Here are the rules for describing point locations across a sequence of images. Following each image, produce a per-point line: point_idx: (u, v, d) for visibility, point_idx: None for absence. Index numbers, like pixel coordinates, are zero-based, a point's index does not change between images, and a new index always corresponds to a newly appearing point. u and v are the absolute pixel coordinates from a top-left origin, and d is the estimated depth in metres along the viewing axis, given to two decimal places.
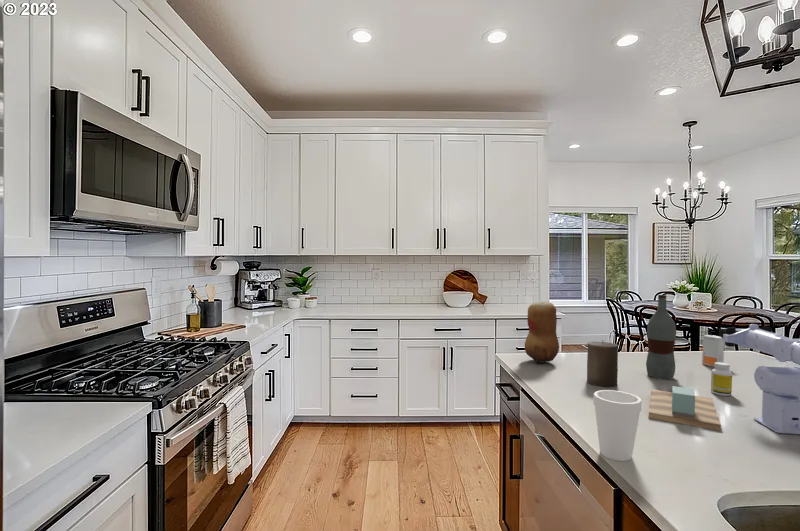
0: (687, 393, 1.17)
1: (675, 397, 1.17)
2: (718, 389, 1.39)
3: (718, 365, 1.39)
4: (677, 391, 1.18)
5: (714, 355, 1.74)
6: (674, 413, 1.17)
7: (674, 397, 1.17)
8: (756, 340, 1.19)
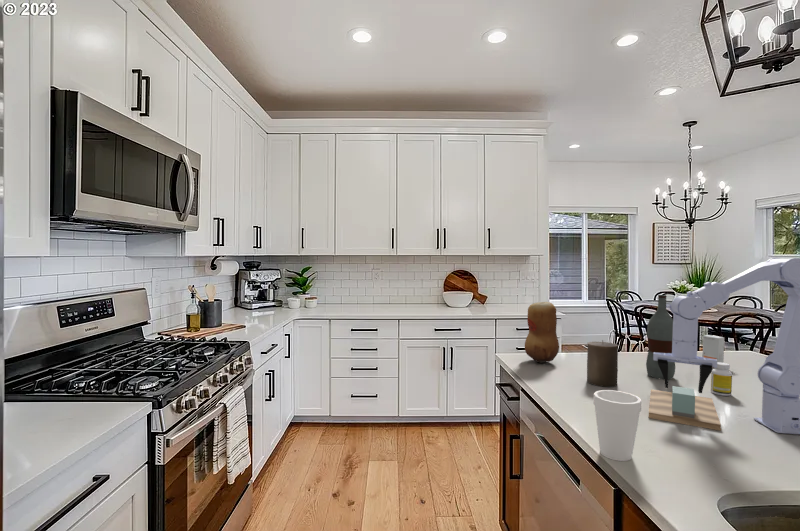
0: (687, 393, 1.17)
1: (675, 397, 1.17)
2: (718, 389, 1.39)
3: (718, 365, 1.39)
4: (677, 391, 1.18)
5: (714, 355, 1.74)
6: (674, 413, 1.17)
7: (674, 397, 1.17)
8: (687, 340, 1.16)
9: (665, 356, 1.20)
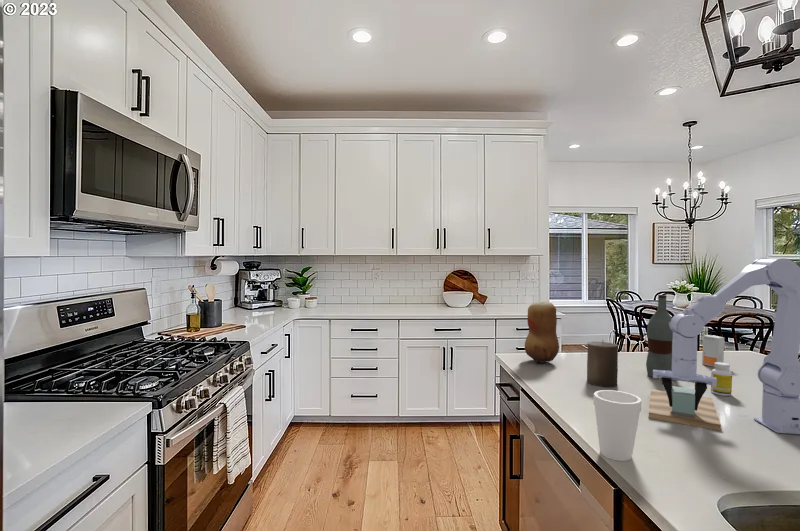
0: (687, 393, 1.17)
1: (675, 397, 1.17)
2: (718, 389, 1.39)
3: (718, 365, 1.39)
4: (677, 391, 1.18)
5: (714, 355, 1.74)
6: (674, 413, 1.17)
7: (674, 397, 1.17)
8: (686, 358, 1.16)
9: (665, 374, 1.20)
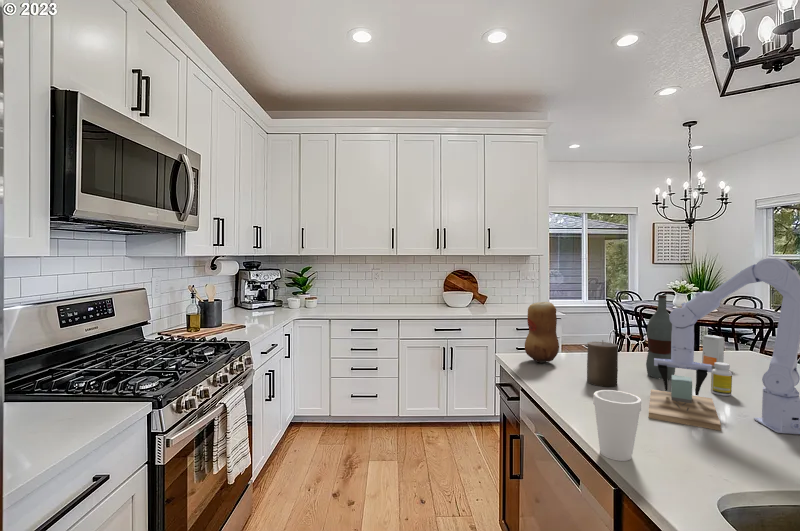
0: (685, 380, 1.28)
1: (674, 384, 1.29)
2: (718, 389, 1.39)
3: (718, 365, 1.39)
4: (676, 379, 1.30)
5: (714, 355, 1.74)
6: (673, 399, 1.29)
7: (673, 384, 1.29)
8: (677, 346, 1.29)
9: (665, 362, 1.32)
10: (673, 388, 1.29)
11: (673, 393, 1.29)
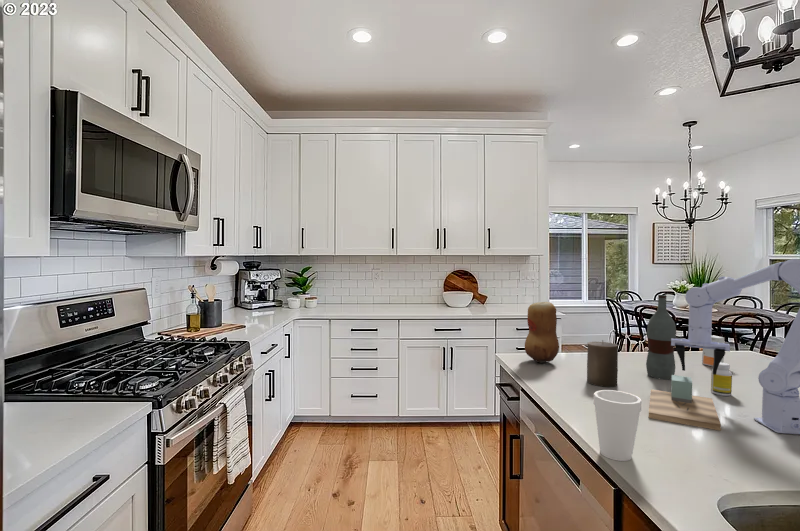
0: (685, 380, 1.28)
1: (674, 384, 1.29)
2: (718, 389, 1.39)
3: None
4: (676, 379, 1.30)
5: None
6: (673, 399, 1.29)
7: (673, 384, 1.29)
8: (693, 325, 1.30)
9: (682, 341, 1.32)
10: (673, 388, 1.29)
11: (673, 393, 1.29)
